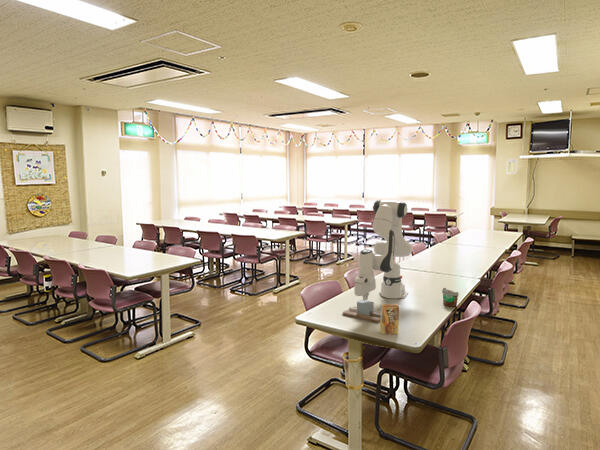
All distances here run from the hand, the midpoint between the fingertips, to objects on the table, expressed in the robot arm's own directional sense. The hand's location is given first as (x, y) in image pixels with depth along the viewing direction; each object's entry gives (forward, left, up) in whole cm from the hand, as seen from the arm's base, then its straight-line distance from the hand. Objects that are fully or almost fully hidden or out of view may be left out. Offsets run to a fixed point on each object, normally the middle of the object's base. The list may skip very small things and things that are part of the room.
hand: (365, 300), depth 233 cm
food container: (-51, +33, -10) cm, 61 cm away
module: (0, 0, -8) cm, 8 cm away
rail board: (0, 0, -10) cm, 10 cm away
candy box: (+16, +23, -10) cm, 30 cm away
